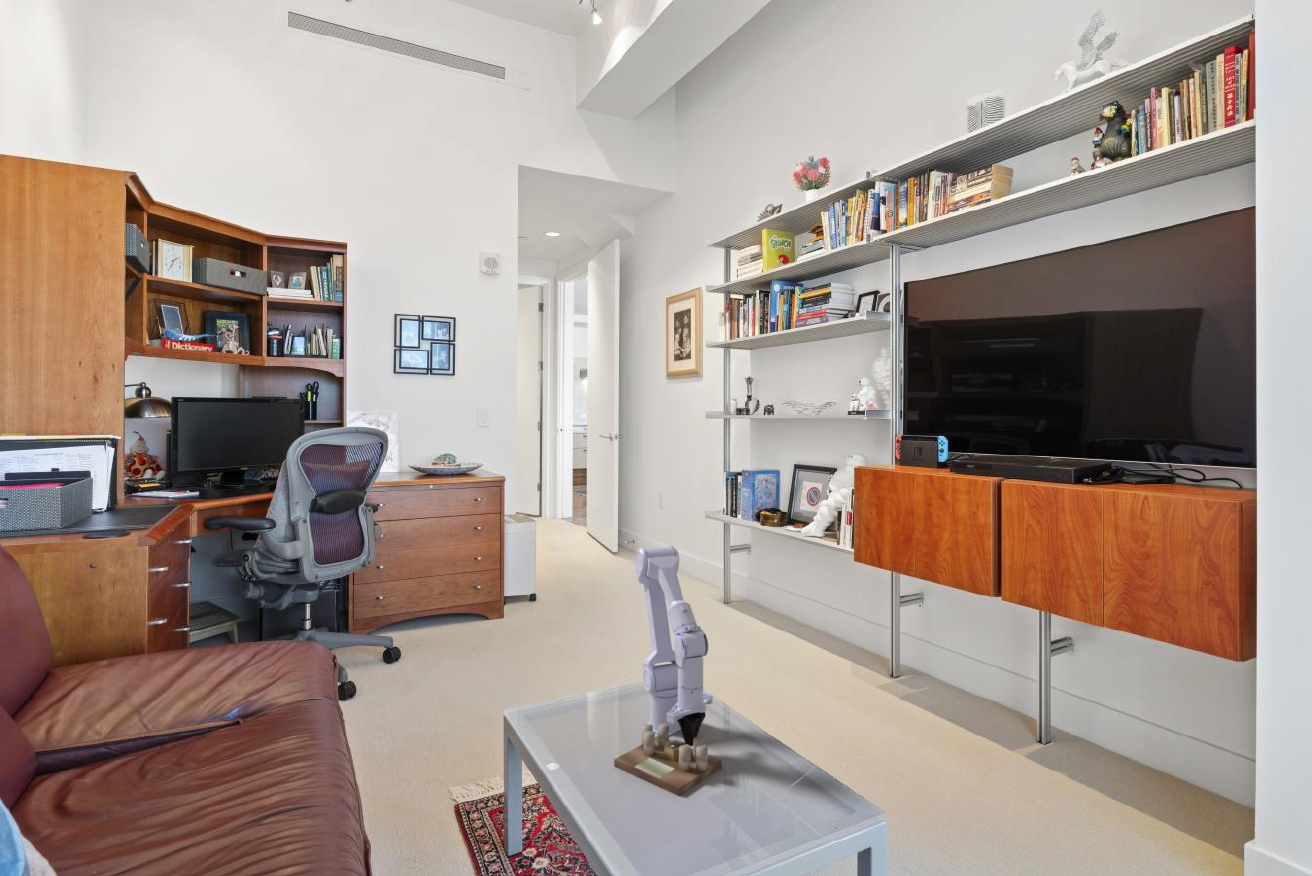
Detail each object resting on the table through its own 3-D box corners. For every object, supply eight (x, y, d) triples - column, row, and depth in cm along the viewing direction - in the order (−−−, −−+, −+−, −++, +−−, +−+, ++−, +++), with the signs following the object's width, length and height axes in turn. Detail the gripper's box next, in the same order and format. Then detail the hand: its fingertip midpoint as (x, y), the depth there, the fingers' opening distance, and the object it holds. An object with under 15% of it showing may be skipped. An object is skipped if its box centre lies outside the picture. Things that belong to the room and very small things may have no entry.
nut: (672, 748, 157) (672, 737, 157) (690, 755, 154) (690, 744, 154) (659, 755, 154) (660, 744, 154) (677, 763, 151) (678, 752, 151)
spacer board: (658, 741, 164) (658, 716, 163) (721, 767, 152) (721, 740, 152) (614, 766, 152) (614, 739, 152) (678, 795, 141) (678, 766, 140)
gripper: (684, 699, 149) (684, 761, 150) (723, 680, 160) (723, 738, 161) (659, 690, 154) (659, 751, 154) (699, 672, 165) (698, 729, 165)
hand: (690, 744), depth 158 cm, fingers closed
